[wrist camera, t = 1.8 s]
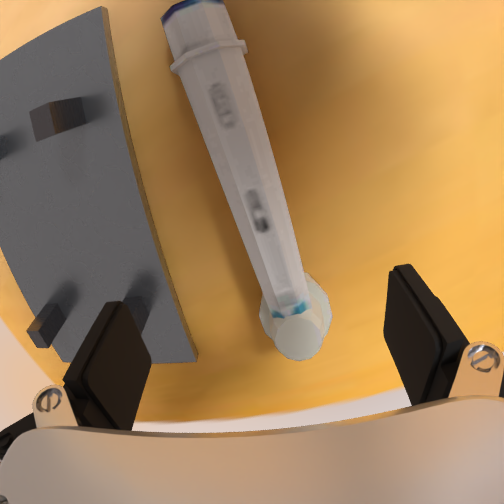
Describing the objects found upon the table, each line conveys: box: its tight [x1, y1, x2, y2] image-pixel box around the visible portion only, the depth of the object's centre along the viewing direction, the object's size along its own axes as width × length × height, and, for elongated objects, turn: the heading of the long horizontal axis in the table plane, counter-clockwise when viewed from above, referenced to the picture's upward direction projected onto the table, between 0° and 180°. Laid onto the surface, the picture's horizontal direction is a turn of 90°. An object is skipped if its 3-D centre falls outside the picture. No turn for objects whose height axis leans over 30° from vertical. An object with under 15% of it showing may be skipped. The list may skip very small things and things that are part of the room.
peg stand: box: [0, 6, 198, 363], centre depth 21 cm, size 30×16×5 cm, turn 9°
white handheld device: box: [160, 0, 332, 361], centre depth 20 cm, size 5×7×25 cm
